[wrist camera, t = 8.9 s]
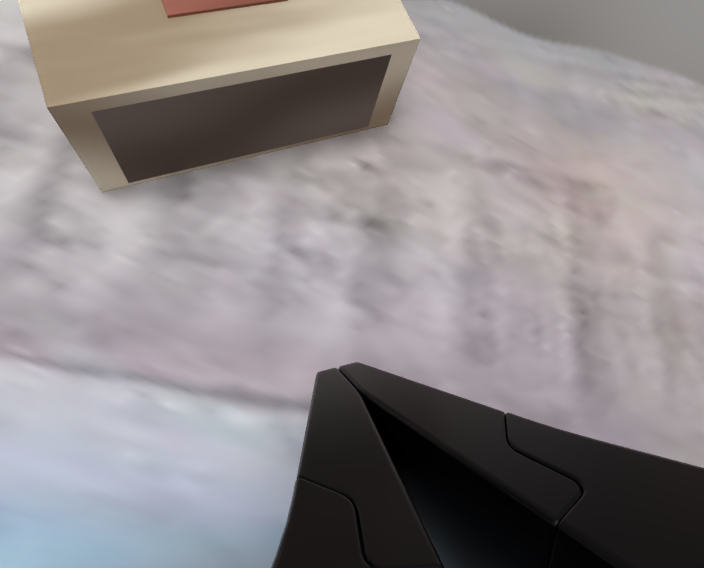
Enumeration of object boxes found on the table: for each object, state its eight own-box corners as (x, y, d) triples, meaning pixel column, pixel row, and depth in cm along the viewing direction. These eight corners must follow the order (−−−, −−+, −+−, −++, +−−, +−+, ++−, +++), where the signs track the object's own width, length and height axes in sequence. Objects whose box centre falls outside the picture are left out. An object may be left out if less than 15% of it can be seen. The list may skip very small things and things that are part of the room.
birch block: (421, 36, 16) (327, -140, 18) (45, 105, 13) (-15, -119, 15) (385, 128, 21) (315, -20, 23) (104, 196, 18) (52, 16, 20)
